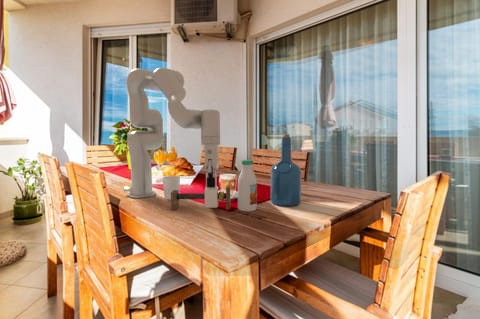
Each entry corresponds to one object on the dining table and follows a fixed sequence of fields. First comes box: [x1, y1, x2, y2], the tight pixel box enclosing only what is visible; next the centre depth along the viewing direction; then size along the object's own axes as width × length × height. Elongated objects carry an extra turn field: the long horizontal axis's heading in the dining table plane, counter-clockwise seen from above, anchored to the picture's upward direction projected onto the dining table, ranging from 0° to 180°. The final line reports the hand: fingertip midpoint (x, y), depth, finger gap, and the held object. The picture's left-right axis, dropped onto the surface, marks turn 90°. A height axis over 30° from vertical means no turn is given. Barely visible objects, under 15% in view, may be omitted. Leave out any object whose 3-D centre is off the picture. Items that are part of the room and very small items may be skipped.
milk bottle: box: [237, 159, 258, 213], centre depth 107 cm, size 8×8×20 cm
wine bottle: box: [270, 133, 303, 207], centre depth 116 cm, size 14×13×30 cm
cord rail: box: [170, 184, 231, 211], centre depth 110 cm, size 24×5×9 cm, turn 90°
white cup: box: [162, 175, 181, 201], centre depth 127 cm, size 8×8×10 cm
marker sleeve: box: [204, 172, 219, 209], centre depth 110 cm, size 5×5×13 cm
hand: (211, 186), depth 109 cm, fingers closed on marker sleeve, 2 cm apart
